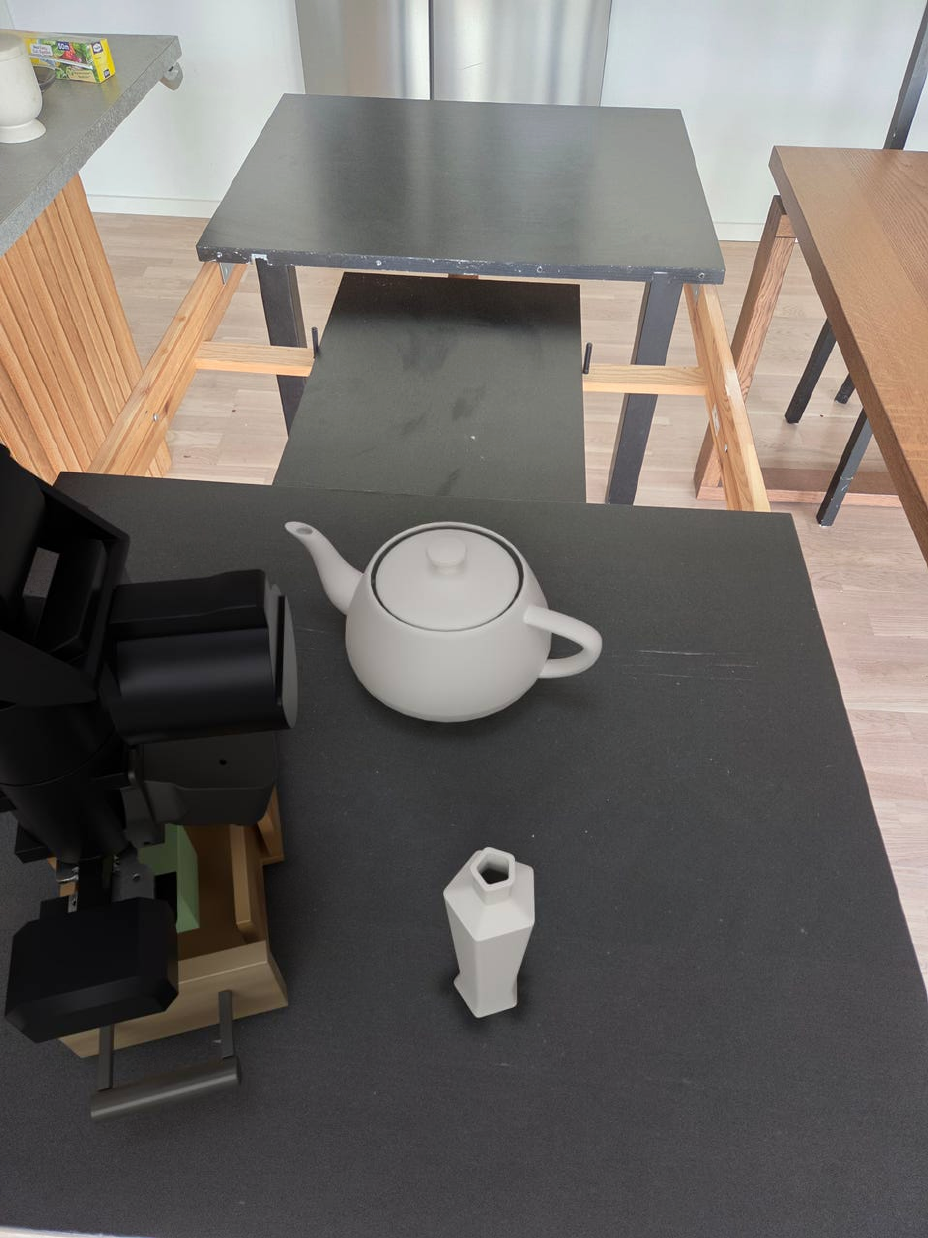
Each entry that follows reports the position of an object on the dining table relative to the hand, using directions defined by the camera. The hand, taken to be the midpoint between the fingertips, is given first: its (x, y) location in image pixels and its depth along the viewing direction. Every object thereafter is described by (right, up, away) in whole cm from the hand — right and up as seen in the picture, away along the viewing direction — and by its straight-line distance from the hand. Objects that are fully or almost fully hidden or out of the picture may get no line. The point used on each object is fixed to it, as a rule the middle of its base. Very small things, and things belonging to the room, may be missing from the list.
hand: (151, 892), depth 46 cm
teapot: (+15, +12, +21) cm, 28 cm away
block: (0, -1, +1) cm, 1 cm away
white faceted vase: (+18, -7, +4) cm, 20 cm away
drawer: (0, -5, +5) cm, 7 cm away
